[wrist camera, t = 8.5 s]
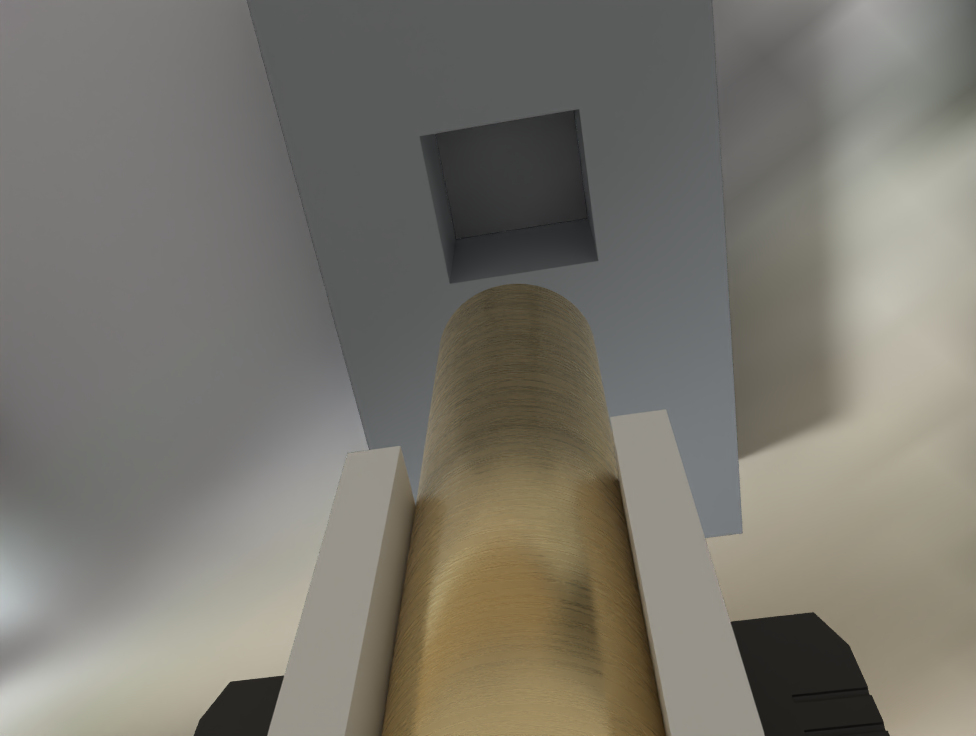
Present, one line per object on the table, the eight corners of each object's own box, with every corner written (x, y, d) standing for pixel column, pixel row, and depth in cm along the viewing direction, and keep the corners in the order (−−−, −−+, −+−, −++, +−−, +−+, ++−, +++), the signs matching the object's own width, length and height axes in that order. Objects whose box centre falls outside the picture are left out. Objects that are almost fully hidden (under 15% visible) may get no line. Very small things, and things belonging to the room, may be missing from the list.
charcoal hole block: (718, 468, 35) (742, 533, 32) (413, 508, 37) (403, 575, 33) (678, -109, 26) (705, -109, 23) (275, -33, 28) (241, -21, 24)
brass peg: (603, 413, 18) (807, 1539, 6) (454, 432, 18) (343, 1546, 6) (587, 272, 17) (806, 1350, 4) (425, 295, 17) (208, 1371, 5)
